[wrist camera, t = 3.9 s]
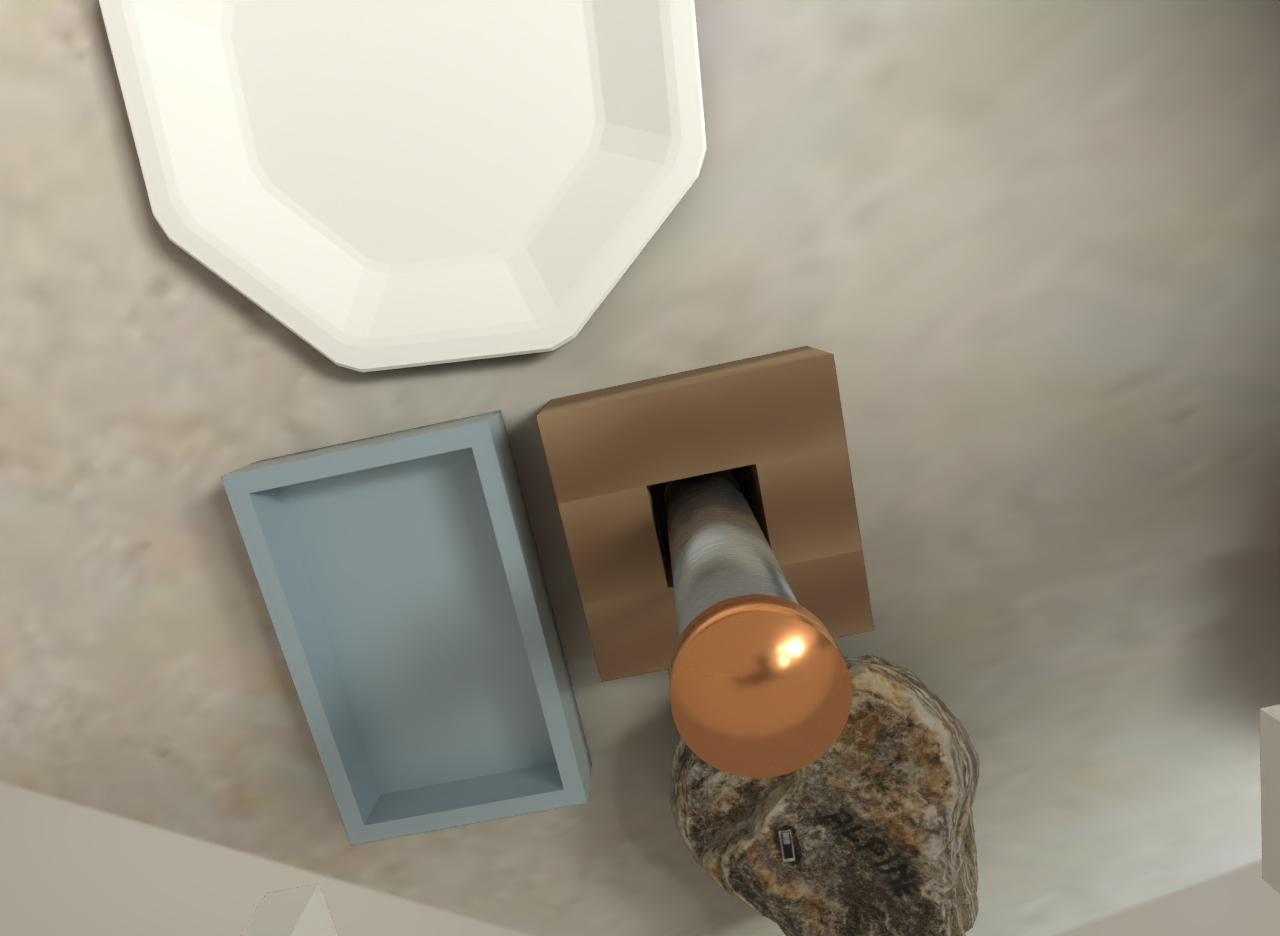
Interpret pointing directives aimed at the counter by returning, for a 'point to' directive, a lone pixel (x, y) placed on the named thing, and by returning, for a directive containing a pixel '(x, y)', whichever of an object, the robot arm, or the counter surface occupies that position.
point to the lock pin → (745, 641)
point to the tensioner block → (695, 445)
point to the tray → (416, 626)
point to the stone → (848, 820)
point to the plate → (414, 159)
